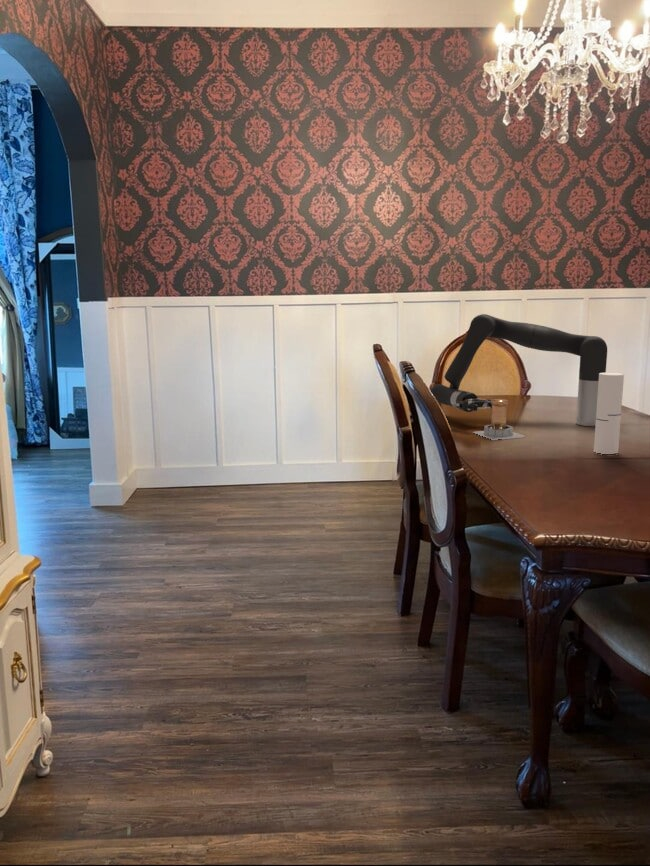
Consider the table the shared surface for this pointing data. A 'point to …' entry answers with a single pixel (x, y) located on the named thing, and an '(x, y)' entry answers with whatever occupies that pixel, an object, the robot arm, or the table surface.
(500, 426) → the copper pipe
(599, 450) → the cylindrical container
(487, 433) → the duct collar
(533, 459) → the table surface
